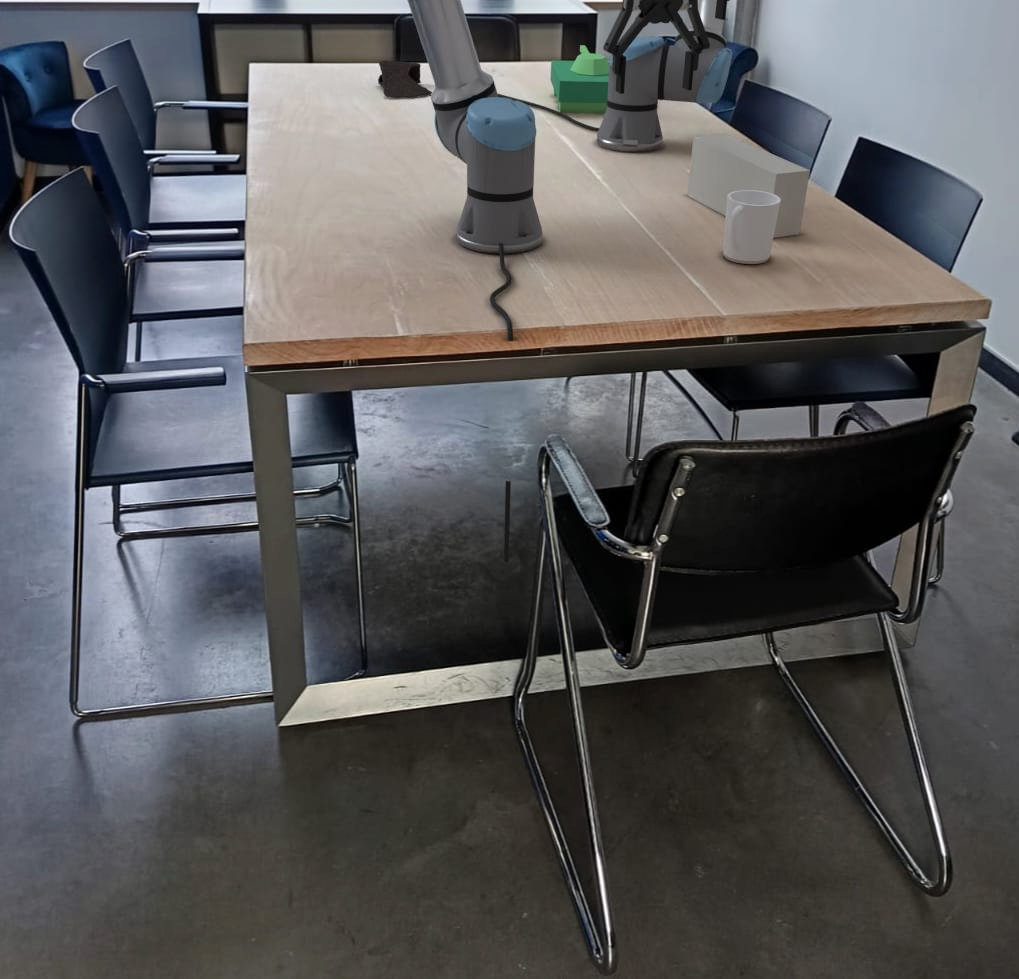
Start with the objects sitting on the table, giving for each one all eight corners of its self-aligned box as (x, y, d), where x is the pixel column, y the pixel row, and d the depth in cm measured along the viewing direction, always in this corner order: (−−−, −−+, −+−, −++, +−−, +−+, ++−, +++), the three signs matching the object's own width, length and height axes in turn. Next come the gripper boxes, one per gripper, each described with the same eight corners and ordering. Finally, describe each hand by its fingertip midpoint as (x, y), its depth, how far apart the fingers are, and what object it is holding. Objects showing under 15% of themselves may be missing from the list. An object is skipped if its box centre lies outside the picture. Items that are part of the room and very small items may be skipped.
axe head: (443, 87, 294) (392, 77, 287) (436, 115, 299) (385, 106, 292) (421, 62, 307) (371, 52, 300) (414, 89, 311) (365, 80, 304)
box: (799, 234, 202) (810, 170, 196) (766, 238, 200) (776, 173, 193) (717, 192, 224) (724, 133, 218) (687, 195, 222) (693, 136, 215)
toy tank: (613, 42, 302) (631, 66, 272) (610, 88, 309) (627, 117, 279) (549, 40, 301) (560, 65, 272) (547, 87, 308) (558, 116, 278)
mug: (736, 244, 196) (743, 187, 191) (781, 255, 191) (790, 197, 186) (704, 259, 189) (711, 200, 183) (750, 272, 184) (758, 211, 179)
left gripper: (718, -38, 201) (706, 83, 212) (590, -35, 196) (584, 89, 207) (736, -33, 195) (722, 91, 206) (604, -30, 189) (597, 98, 201)
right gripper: (747, -102, 215) (733, 14, 226) (635, -102, 206) (626, 20, 217) (769, -100, 209) (754, 20, 220) (655, -99, 200) (645, 26, 211)
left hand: (653, 90), depth 207 cm, fingers open, 13 cm apart
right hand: (690, 20), depth 219 cm, fingers open, 13 cm apart
